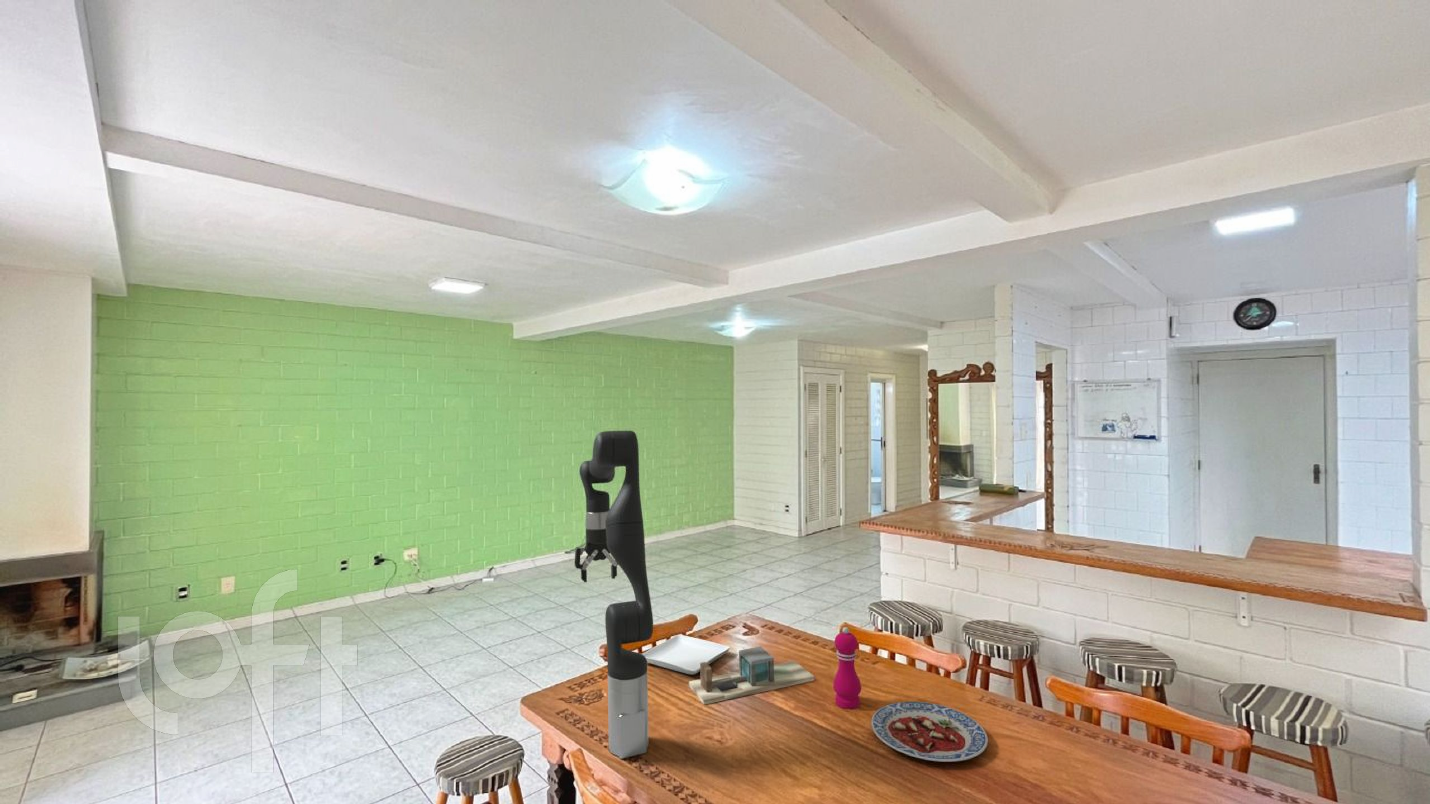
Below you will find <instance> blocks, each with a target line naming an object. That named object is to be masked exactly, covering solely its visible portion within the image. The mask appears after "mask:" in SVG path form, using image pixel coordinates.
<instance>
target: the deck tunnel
mask: <svg viewBox="0 0 1430 804" xmlns="http://www.w3.org/2000/svg"><path fill="white" fill-rule="evenodd" d="M742 658H745V659H746V660H747V661H748V662H749V663H750V683H749V682H748V681H747V680H741V681H736V682H732V683H727V684H722V685H717V686H712V691H709V692H706V690H705V689H704V688H703V687H702V686H701V681H700V678H699V679H694V680H689V681H688V687H690V690H692V692H693V693H694V694H695V695H696V697H697V698H698V699H699V700H700V702H701V703H702V704H703V705H709V704H713V703H717V702H718V703H719V702H721V701H727V700H731V699H735V698H741V697H746V696H749V695H753V694H759V693H764V692H767V691H769V692H770V691H772V690H777V689H782V688H786V687H792V686H794V685H800V684H805V683H810V682H814V681H815V676H814V675H813V674H812V673H811V672H809V671H808V670H807V669H805V668H804V667H803V666H802V665H800V664H799V663H798V662H796V661H795V660H789V661H784V662H780V663H775V657H774V656H773V655H771V654H770V653H769V652H768V651H767V650H766V649H764V648H762V647H761V646H756V647H752V648H746V649H740V650H738V665H739V667H738V668H739V669H738V670H739V671H734V672H728V673H724V674H719V675H712V682H714V681H719V680H724V679H729V678H734V677H738V676H742ZM763 662H768V679H766V680H761V681H756V674H755V664H758V663H763Z"/></svg>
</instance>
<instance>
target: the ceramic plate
mask: <svg viewBox="0 0 1430 804" xmlns="http://www.w3.org/2000/svg"><path fill="white" fill-rule="evenodd" d="M871 728H872V730H873V733H874V734H875V736H877V738H878V739H879V740H880V741H882V743H885V744H886V745H887V746H889V747H890V748H892V749H894V750H895V751H897V752H899V753H903V754H905V755H907V756H910V757H912V758H913V757H914V758H917V759H921V760H925V761H933V762H944V763H946V762H947V763H949V762H950V763H951V762H952V763H953V762H961V761H968V760H971V759H973V758H975V757H977V756H979V755H981V754H982V753H983V752H984V751H985V750H986V748H987V747H988V742H989V739H988V735H987V733H986V731H985V729H984V728H983V727H982V726H981V724H980V723H979V722H977V721H976V720H975V719H973V718H972V717H971V716H968V715H967V714H965V713H963V712H961V711H959V710H957V709H954V708H952V707H948V706H944V705H941V704H936V703H931V702H925V701H901V702H900V701H899V702H896V703H891V704H887V705H885V706H882V707H881V708H879V709H878V710H877V711H875V712H874V714H873V715H872V718H871ZM885 744H884V745H885Z"/></svg>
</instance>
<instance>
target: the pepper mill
mask: <svg viewBox="0 0 1430 804" xmlns="http://www.w3.org/2000/svg"><path fill="white" fill-rule="evenodd" d="M841 631H842V632H839V633H838V634H836V636H835V638H834V647H835V649H836V658H838V668H837V671H836V674H835V676H834V679H833V686H832V687H833V691H834V692H835V693H836V694H835V695H834V696H835V698H834V699H835V704H836V706H837V707H840V708H842V709H846V710H853V709H854V710H855V709H857V708H858V707H859V706H860V704H861V700H860V699H861V698H860V696H859V695H860V694H861V692H862V685H861V681H860V678H859V676H858V673H857V671H856V668H855V660H856V659H857V652H856V651H857V648H858V644H859V643H858V639H857V637H856V636H855V634H853V633H852V632H850V628H848V627H846V626H844V627H843V628H842V629H841Z"/></svg>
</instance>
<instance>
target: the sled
mask: <svg viewBox="0 0 1430 804" xmlns="http://www.w3.org/2000/svg"><path fill="white" fill-rule="evenodd" d="M699 672H700V674H699V675H700V678H699V679H700V681H701V686H702V687H703V688H704V689H705V690H706V692H709V691H712V686H717V685H722V684H727V683H732V682H736V681H741V680H747V681H748V682H749V683H750V663H749V662H748V661H747V660H746V659H745V658H742V676H738V677H734V678H729V679H724V680H719V681H714V682H712V677H713V673H712V672H713V670H712V667H711V666H710V664H709V665H708V664H707V663H706V662H703V663H700V671H699ZM755 674H756V681H761V680H766V679H768V662H763V663H758V664H755Z"/></svg>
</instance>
